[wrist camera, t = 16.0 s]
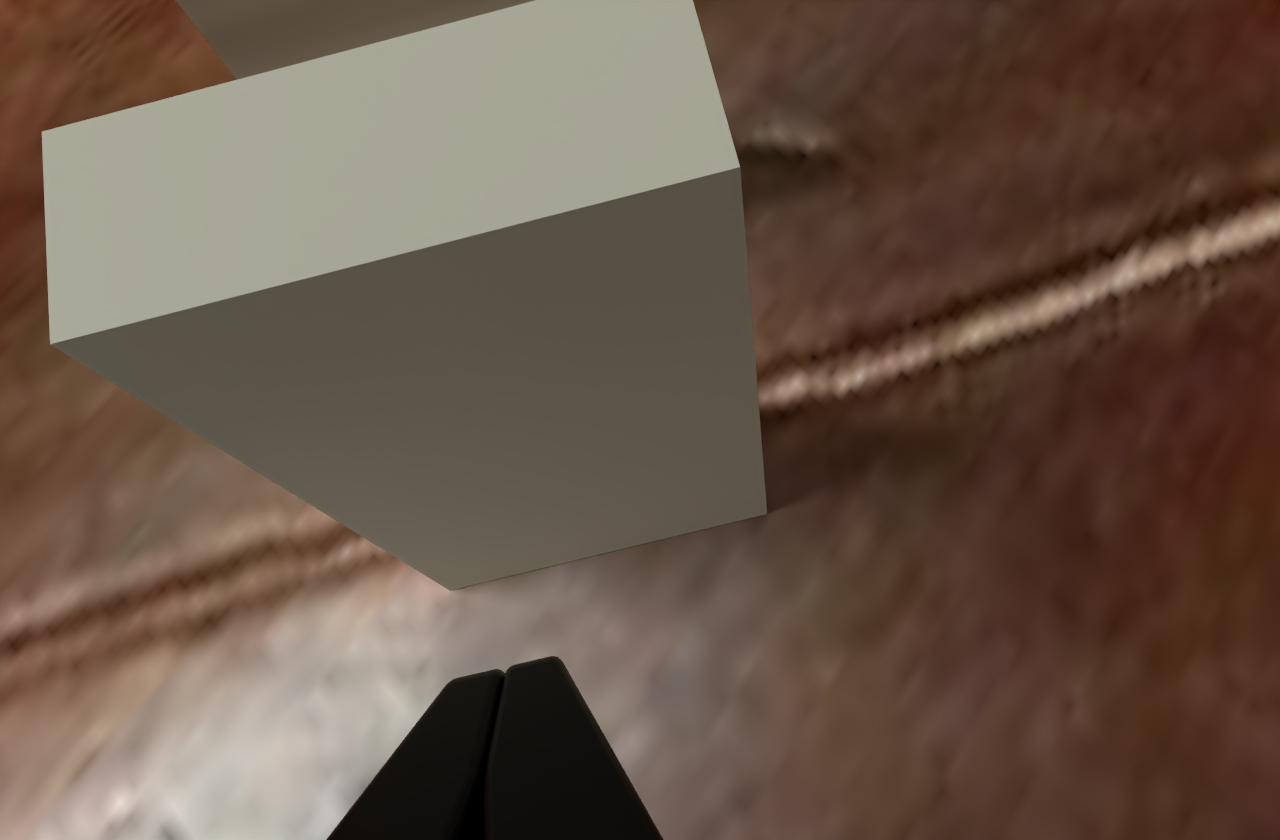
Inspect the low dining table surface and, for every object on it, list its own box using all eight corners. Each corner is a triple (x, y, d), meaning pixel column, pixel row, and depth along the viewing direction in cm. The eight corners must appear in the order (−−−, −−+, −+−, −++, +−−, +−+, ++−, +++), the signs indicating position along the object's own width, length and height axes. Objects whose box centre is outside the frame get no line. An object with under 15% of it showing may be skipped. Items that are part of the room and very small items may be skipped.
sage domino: (767, 514, 17) (739, 165, 8) (450, 590, 17) (50, 344, 8) (738, 405, 18) (681, -38, 8) (432, 481, 18) (40, 131, 9)
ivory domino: (695, 230, 19) (602, -340, 9) (407, 301, 19) (35, -182, 10) (673, 139, 19) (564, -481, 10) (393, 210, 20) (30, -330, 10)
